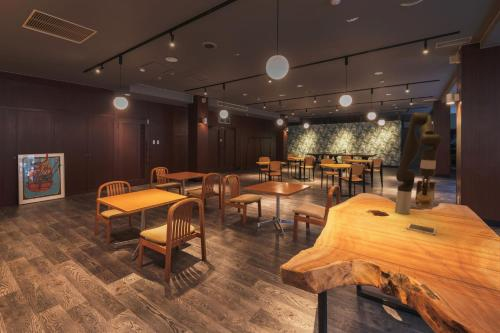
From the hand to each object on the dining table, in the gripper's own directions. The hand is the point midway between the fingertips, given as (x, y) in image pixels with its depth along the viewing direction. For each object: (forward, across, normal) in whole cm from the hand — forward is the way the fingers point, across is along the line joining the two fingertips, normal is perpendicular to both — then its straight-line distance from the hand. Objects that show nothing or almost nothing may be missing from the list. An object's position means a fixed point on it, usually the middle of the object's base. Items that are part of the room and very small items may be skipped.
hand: (424, 194), depth 151 cm
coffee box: (+9, 0, 0) cm, 9 cm away
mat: (+23, 0, 0) cm, 23 cm away
